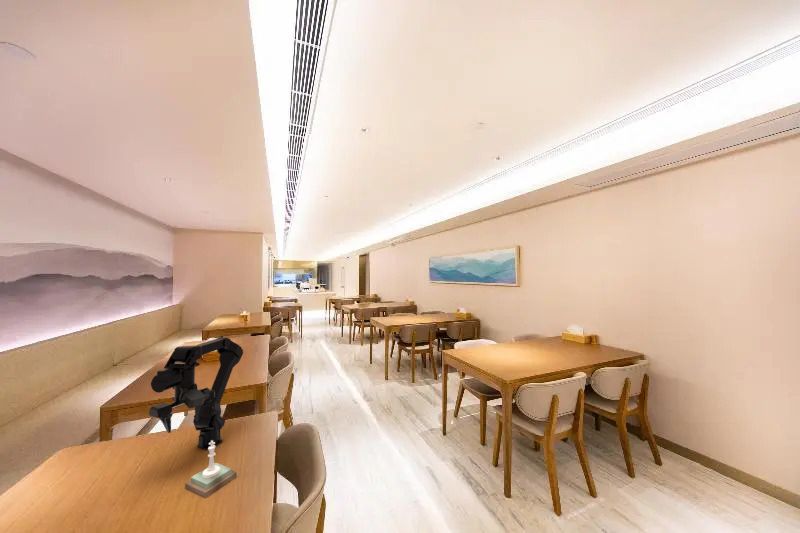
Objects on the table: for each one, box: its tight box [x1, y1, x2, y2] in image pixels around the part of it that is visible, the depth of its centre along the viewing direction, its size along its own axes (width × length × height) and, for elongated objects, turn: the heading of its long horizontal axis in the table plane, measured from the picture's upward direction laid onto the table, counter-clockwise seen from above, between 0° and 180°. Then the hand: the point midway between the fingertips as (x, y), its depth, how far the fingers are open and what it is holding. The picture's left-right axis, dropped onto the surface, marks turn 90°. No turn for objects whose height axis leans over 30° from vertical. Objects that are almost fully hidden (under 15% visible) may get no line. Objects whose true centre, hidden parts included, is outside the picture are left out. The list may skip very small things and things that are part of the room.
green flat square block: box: [184, 462, 238, 499], centre depth 93 cm, size 10×10×3 cm
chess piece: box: [202, 440, 220, 478], centre depth 94 cm, size 5×5×10 cm
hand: (183, 426), depth 103 cm, fingers open, 9 cm apart
